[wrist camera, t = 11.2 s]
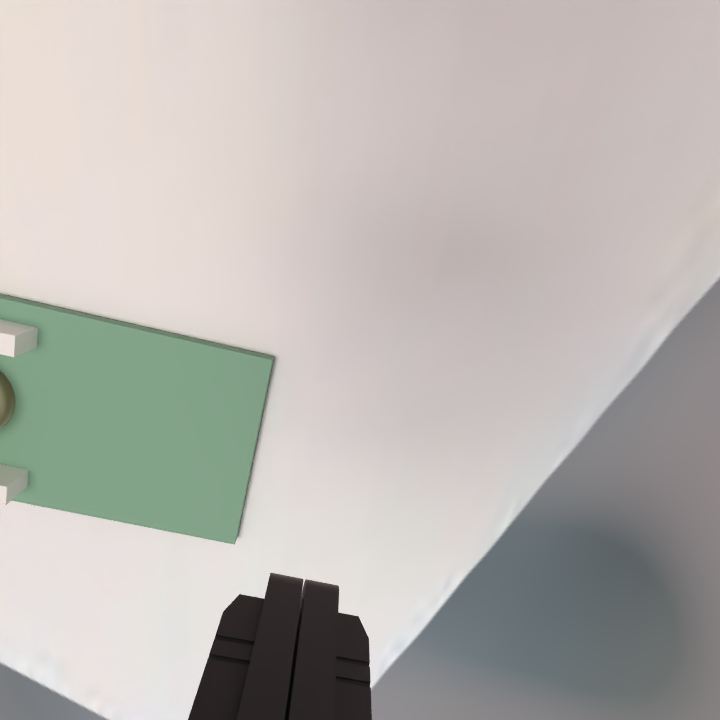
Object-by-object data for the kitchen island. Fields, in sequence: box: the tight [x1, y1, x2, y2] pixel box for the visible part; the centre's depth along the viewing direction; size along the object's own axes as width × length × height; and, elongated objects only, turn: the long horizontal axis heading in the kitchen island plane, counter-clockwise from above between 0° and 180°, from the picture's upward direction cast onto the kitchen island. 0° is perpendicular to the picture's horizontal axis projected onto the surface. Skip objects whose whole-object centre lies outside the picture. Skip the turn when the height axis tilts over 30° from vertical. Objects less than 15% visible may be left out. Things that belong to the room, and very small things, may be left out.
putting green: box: [0, 294, 274, 544], centre depth 38 cm, size 16×26×1 cm, turn 76°
